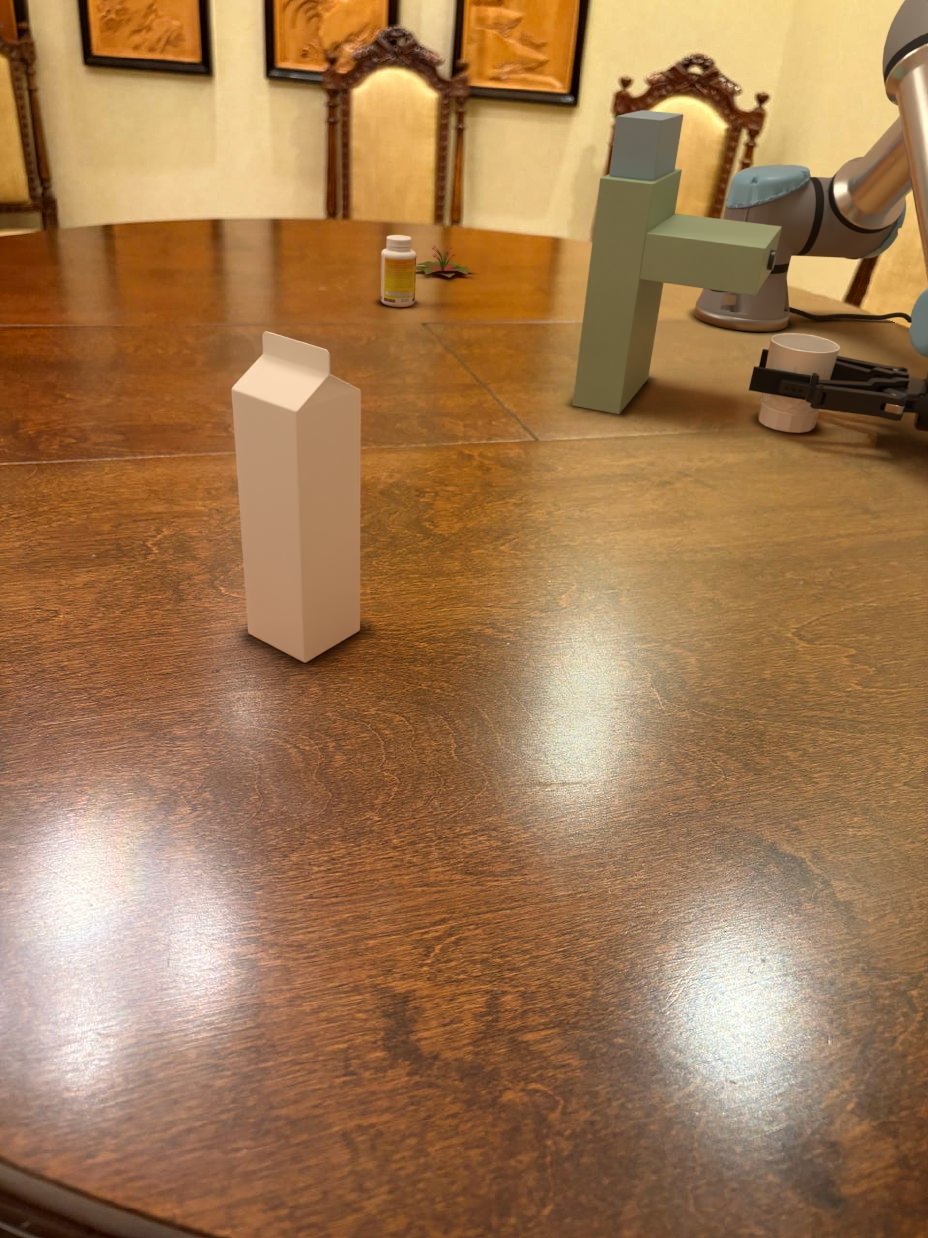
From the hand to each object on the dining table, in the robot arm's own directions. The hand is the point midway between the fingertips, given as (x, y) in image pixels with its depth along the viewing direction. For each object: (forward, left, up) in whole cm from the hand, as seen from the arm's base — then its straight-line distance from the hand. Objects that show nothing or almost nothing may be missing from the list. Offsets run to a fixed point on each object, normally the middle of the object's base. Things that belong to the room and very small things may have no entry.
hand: (756, 368), depth 117 cm
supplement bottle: (+30, -57, -6) cm, 65 cm away
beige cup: (-4, +3, -6) cm, 8 cm away
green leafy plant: (+16, -78, -6) cm, 80 cm away
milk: (+62, +37, -6) cm, 72 cm away
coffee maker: (+8, -7, -6) cm, 12 cm away
